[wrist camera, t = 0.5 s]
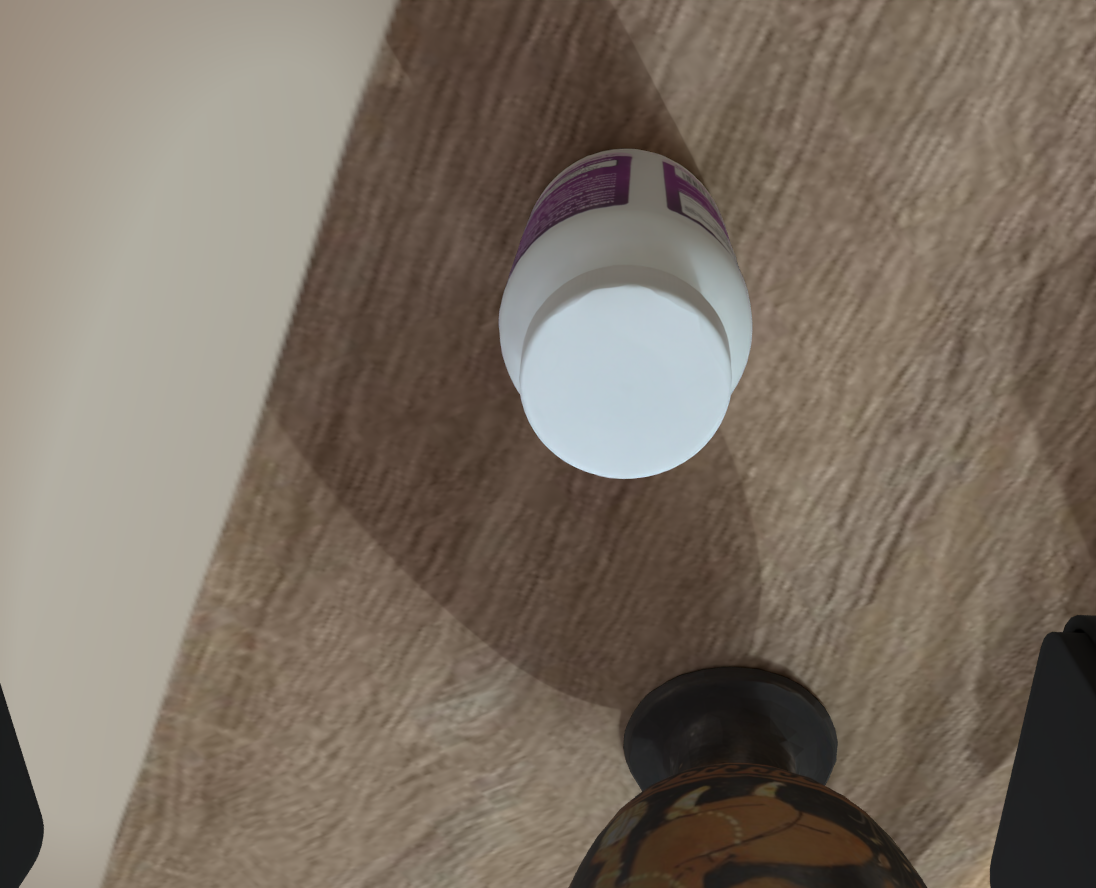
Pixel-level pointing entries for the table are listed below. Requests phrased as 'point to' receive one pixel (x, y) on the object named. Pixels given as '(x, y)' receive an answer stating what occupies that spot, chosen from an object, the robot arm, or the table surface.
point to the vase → (738, 795)
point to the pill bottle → (625, 315)
